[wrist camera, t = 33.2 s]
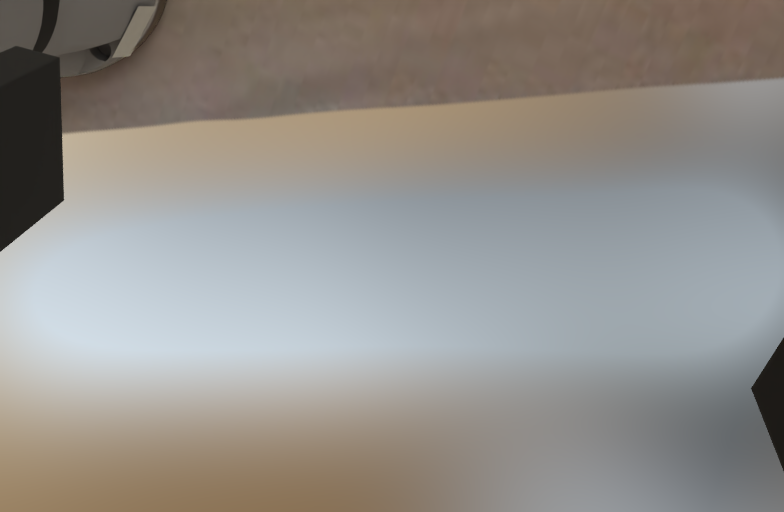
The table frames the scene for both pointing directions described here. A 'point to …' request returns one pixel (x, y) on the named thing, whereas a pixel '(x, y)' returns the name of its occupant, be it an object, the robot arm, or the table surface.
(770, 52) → the table surface
